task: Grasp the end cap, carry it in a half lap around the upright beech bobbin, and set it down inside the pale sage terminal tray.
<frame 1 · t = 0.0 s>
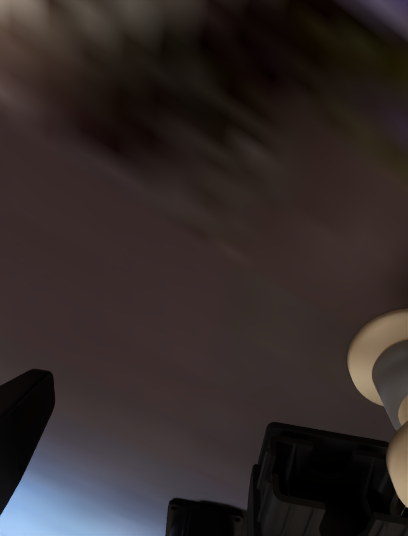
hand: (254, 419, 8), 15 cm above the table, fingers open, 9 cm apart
bobbin: (403, 355, 23), on the table
end cap: (317, 461, 28), on the table
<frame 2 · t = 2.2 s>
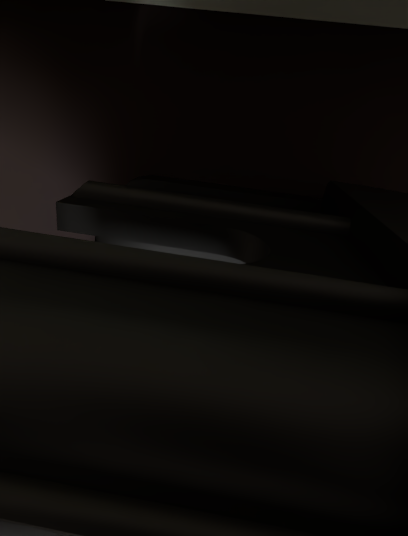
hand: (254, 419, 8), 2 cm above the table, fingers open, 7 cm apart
end cap: (255, 361, 9), on the table
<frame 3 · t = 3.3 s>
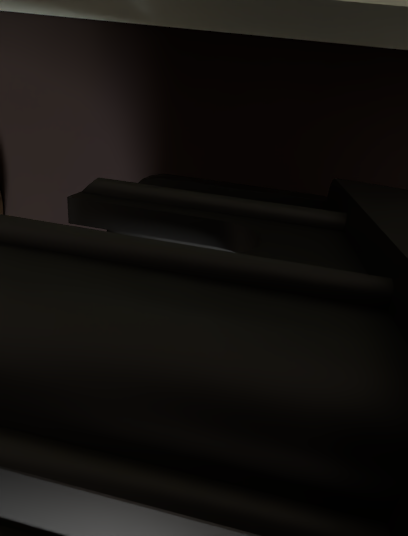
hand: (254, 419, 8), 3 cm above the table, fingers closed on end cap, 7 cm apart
end cap: (264, 358, 10), point 1 cm above the table, touching gripper
when the fingers open (4 cm above the table, at t = 8.9 s): end cap drops 2 cm, resting on terminal tray.
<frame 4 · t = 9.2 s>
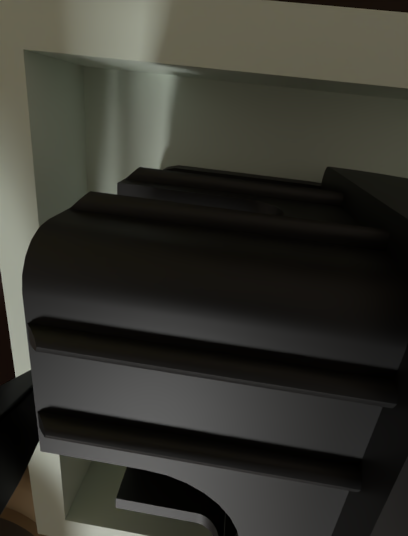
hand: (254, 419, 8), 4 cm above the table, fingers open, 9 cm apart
bobbin: (18, 512, 17), on the table
terminal tray: (251, 319, 11), on the table
end cap: (265, 327, 11), resting on terminal tray
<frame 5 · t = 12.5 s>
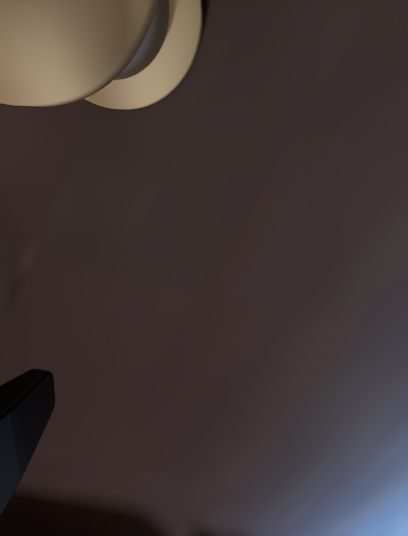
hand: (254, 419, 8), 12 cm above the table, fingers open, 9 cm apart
bobbin: (121, 20, 15), on the table
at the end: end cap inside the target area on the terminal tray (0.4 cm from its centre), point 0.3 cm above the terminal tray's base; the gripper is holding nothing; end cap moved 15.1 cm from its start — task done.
